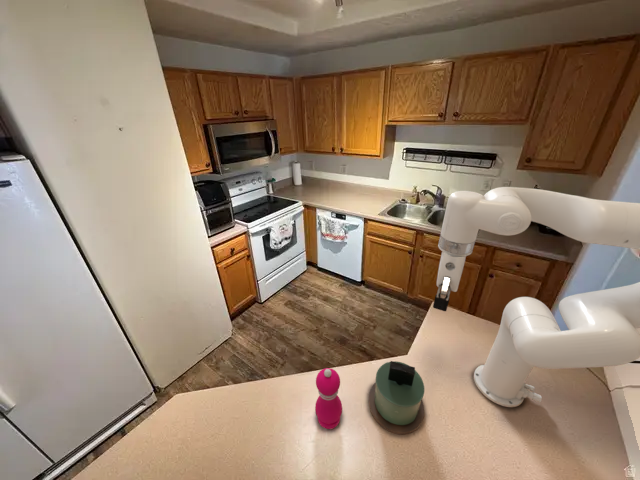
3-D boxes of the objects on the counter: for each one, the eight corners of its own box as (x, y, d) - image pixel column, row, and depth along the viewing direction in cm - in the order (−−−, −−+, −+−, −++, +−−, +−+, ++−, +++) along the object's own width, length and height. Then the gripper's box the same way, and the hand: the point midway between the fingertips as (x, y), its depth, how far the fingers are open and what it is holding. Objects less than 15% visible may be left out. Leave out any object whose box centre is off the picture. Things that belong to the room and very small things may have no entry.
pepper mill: (340, 434, 67) (340, 388, 58) (313, 428, 69) (309, 382, 59) (343, 405, 73) (344, 359, 64) (318, 401, 75) (316, 355, 65)
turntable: (428, 394, 75) (428, 391, 75) (417, 447, 64) (417, 444, 64) (378, 371, 82) (378, 368, 82) (360, 415, 71) (360, 413, 70)
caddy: (418, 433, 66) (428, 398, 58) (370, 416, 69) (373, 382, 62) (419, 387, 76) (428, 353, 69) (377, 375, 80) (380, 341, 72)
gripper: (471, 265, 54) (453, 324, 62) (475, 231, 67) (460, 284, 75) (433, 256, 57) (421, 313, 65) (444, 226, 70) (432, 276, 78)
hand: (442, 297), depth 70 cm, fingers open, 9 cm apart
